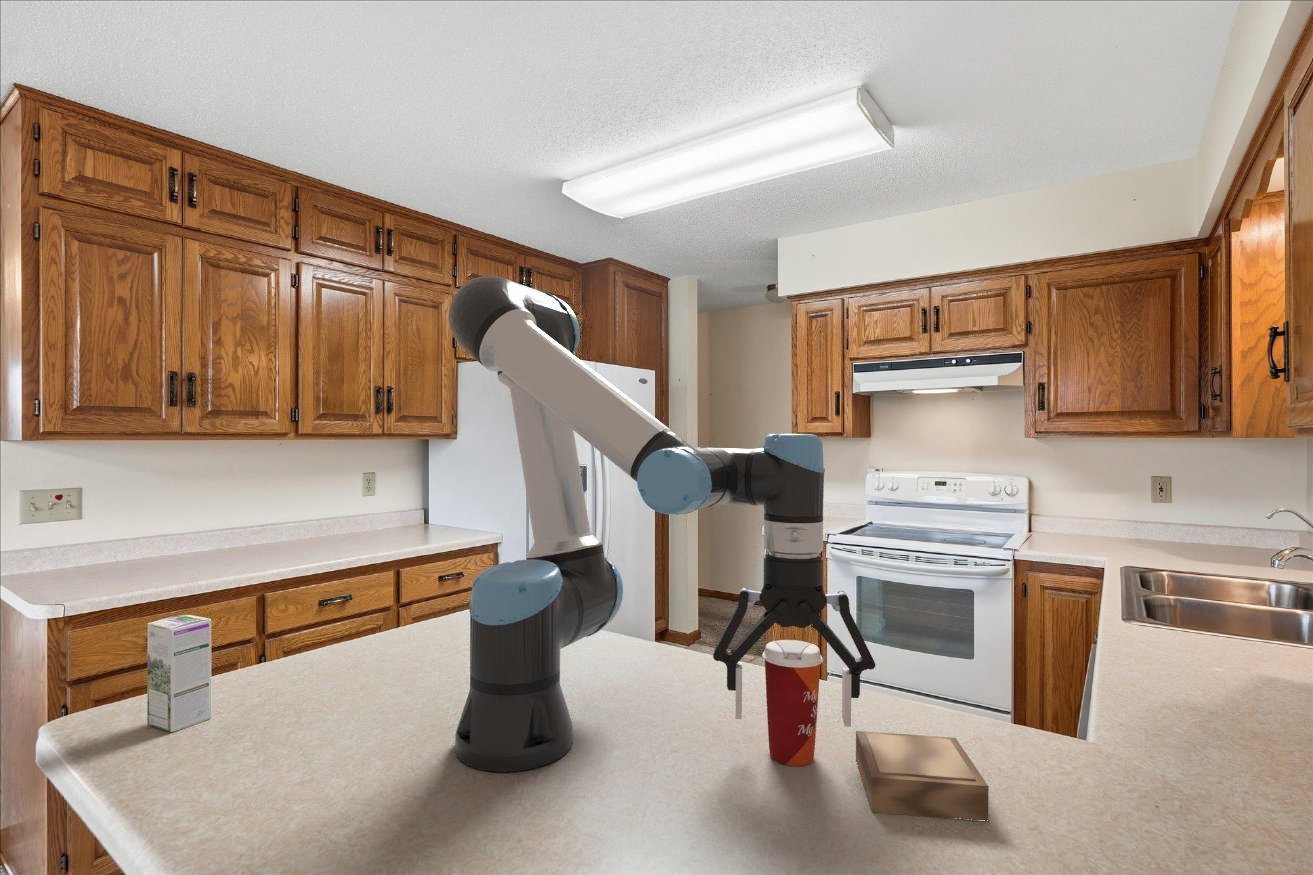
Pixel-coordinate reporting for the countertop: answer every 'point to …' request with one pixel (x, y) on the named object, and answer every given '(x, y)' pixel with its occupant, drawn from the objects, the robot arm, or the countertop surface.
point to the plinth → (920, 776)
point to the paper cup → (792, 700)
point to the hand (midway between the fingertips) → (791, 718)
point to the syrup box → (178, 672)
